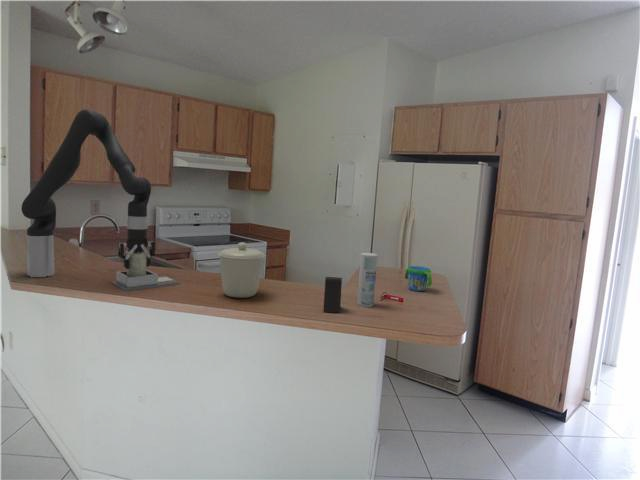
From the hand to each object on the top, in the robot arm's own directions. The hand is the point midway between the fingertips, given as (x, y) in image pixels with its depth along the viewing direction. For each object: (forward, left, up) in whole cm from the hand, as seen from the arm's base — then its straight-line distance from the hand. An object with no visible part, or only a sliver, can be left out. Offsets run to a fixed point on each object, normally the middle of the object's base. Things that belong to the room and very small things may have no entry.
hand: (137, 267), depth 173 cm
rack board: (+4, 0, -7) cm, 8 cm away
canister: (+27, -34, -8) cm, 44 cm away
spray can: (+60, -71, -8) cm, 93 cm away
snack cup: (+100, -69, -8) cm, 122 cm away
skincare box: (0, 0, -6) cm, 6 cm away
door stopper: (+44, -68, -8) cm, 81 cm away
